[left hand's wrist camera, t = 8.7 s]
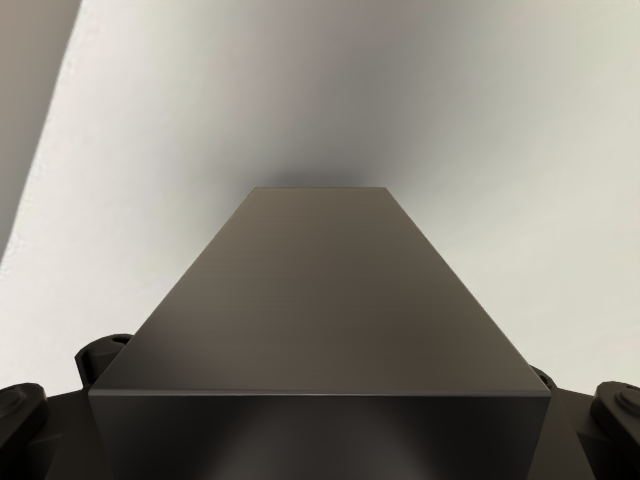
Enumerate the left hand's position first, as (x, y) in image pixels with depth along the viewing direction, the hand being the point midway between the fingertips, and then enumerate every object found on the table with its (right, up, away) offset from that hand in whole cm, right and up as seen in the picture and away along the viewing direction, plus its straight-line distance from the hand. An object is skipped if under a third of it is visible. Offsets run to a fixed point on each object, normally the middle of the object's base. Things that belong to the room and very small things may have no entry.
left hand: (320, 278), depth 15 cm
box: (0, -7, +6) cm, 9 cm away
